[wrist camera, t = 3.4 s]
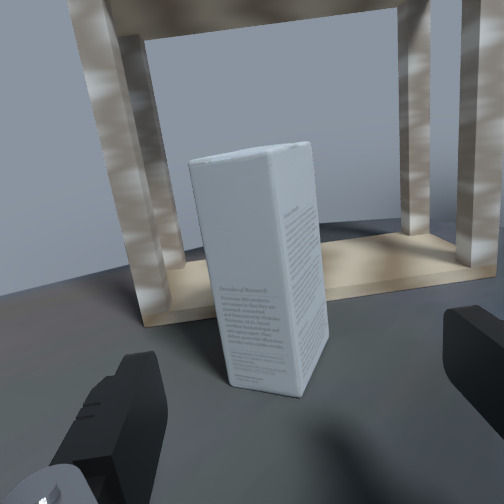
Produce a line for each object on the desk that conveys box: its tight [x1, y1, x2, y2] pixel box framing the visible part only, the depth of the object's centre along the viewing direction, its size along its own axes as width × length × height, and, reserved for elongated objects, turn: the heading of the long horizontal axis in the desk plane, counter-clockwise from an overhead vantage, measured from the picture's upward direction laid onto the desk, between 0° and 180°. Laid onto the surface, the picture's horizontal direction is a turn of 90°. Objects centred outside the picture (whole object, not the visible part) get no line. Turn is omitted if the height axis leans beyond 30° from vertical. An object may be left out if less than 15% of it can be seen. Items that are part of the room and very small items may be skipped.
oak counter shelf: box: [67, 0, 504, 328], centre depth 31 cm, size 27×12×24 cm, turn 93°
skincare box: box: [188, 141, 329, 398], centre depth 20 cm, size 6×4×12 cm
